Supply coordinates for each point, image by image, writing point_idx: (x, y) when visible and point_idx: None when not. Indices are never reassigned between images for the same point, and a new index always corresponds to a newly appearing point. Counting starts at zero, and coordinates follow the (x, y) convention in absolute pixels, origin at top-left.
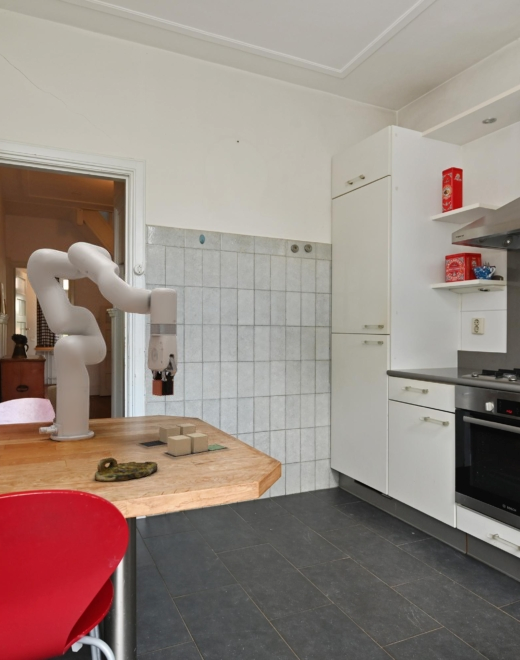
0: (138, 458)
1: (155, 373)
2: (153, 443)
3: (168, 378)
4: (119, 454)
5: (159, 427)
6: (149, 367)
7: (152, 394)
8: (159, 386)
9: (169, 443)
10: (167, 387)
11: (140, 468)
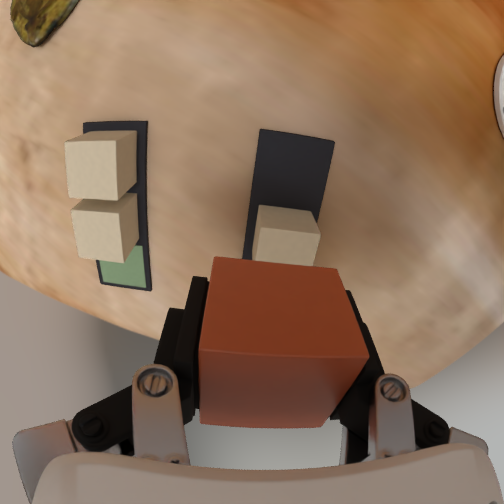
0: (156, 38)
1: (374, 432)
2: (292, 174)
3: (118, 394)
4: (251, 17)
5: (319, 233)
6: (448, 460)
7: (333, 268)
8: (208, 308)
9: (110, 136)
10: (164, 336)
11: (16, 1)
